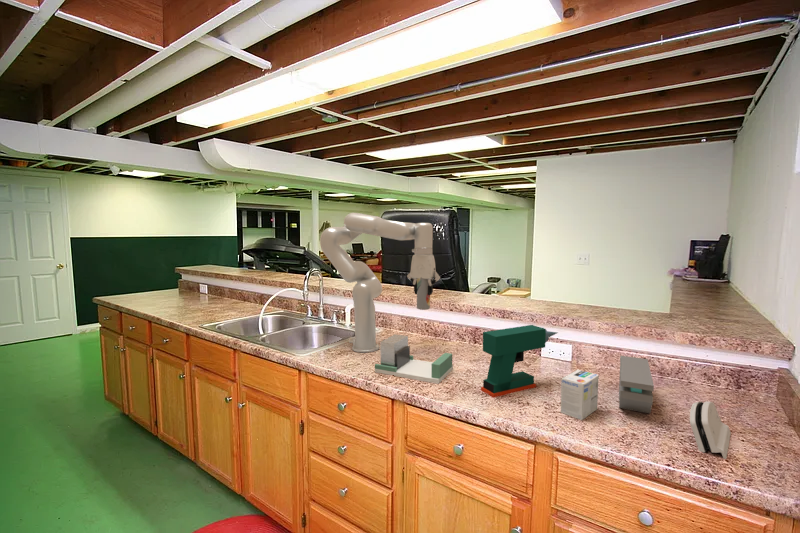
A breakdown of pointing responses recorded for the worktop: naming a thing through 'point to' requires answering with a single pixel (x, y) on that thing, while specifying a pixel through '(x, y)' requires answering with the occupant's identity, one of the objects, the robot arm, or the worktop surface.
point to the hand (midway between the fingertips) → (423, 293)
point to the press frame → (421, 369)
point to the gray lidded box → (635, 384)
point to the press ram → (395, 351)
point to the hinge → (709, 428)
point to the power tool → (511, 357)
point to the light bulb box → (579, 394)
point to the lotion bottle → (423, 294)
